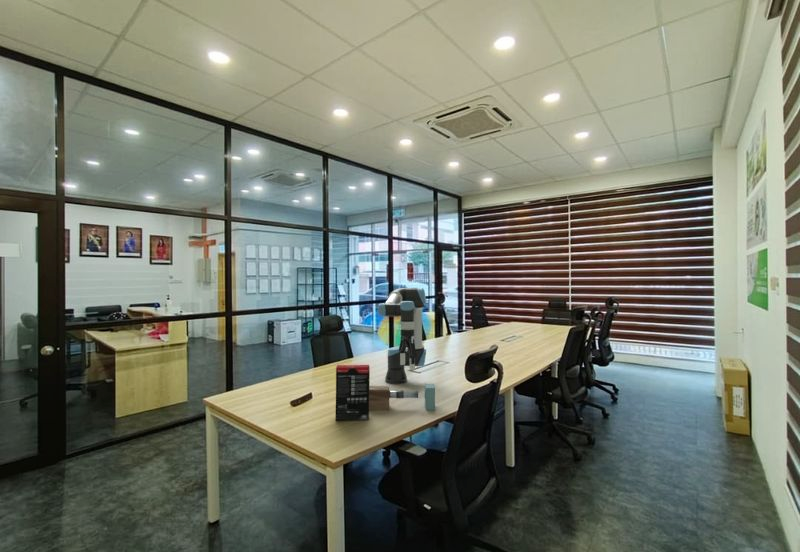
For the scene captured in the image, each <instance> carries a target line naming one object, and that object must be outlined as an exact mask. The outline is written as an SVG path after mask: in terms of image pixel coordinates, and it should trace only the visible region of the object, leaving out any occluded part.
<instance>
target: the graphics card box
mask: <svg viewBox="0 0 800 552" xmlns="http://www.w3.org/2000/svg"><path fill="white" fill-rule="evenodd" d="M370 371H371V370H370V365H369V364H337V365H336V367H335V422H337V421H342V422H343V421H368V420H370V419H369V418H370V410H369V386H370V376H371V374H370Z"/></svg>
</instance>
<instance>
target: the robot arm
mask: <svg viewBox="0 0 800 552" xmlns="http://www.w3.org/2000/svg"><path fill="white" fill-rule="evenodd" d="M426 305H427V298H426V293H425V288H423V287H422V288H421V287H400V288H397V289H394V290H393V291H391V292H390V293H389V295H388V297H387V299H386V301H385V302H383V303H379V304H378V305H377V314H378V316H379V317H400V323H399V325H400V343H399V346H393V347H390V348H388V351H387V371H386V375H385V378H384V380H385V382H386V383H388V384H395V385H396V384H397V385H398V384H404V383H407V381H408V376H407V374H406V373H407V372H406V370H405V367H409V371H415V370H416V368H415V367H424V366H425V363H426V358H427V349H425V346H424V345H423V309H424V308H425V306H426Z"/></svg>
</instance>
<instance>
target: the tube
mask: <svg viewBox="0 0 800 552" xmlns="http://www.w3.org/2000/svg"><path fill="white" fill-rule="evenodd" d="M389 399H419V390H402V389H401V390H389Z"/></svg>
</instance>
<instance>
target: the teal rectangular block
mask: <svg viewBox="0 0 800 552" xmlns="http://www.w3.org/2000/svg"><path fill="white" fill-rule="evenodd" d="M424 408H425V411H435V410H436V387H435V384H434V383H424Z"/></svg>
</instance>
